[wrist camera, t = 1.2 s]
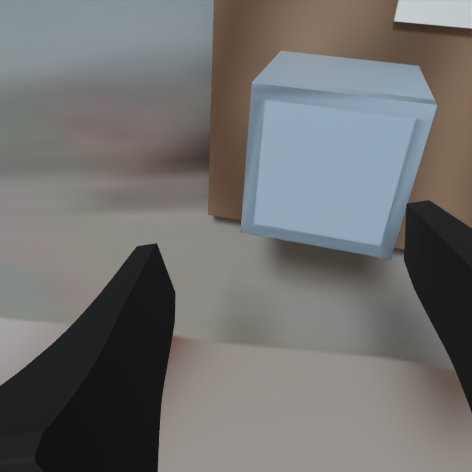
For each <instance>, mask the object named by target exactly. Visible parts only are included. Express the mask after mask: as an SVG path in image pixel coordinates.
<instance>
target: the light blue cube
mask: <svg viewBox="0 0 472 472" xmlns="http://www.w3.org/2000/svg"><path fill="white" fill-rule="evenodd" d="M436 108H437V103H436V101H435V99H434V97H433V95H432V93H431V91H430V89H429V86H428V84H427V82H426V80H425V78H424V76H423V74H422V72H421V70H420V67H419V66H417V65H408V64H398V63H389V62H380V61H371V60H362V59H352V58H343V57H334V56H325V55H315V54H306V53H297V52H288V51H280V52H279V53H278V54H277V56H276V57H275V58H274V59H273V60H272V61H271V62H270V63H269V64H268V65H267V66H266V68H265V69H264V70H263V71H262V72H261V73H260V74H259V75H258V76H257V77H256V78H255V80H254V81H253V82H252V87H251V100H250V113H249V127H248V140H247V153H246V166H245V180H244V193H243V206H242V219H241V232H243V233H248V234H254V235H259V236H265V237H270V238H276V239H281V240H287V241H292V242H298V243H303V244H309V245H314V246H320V247H325V248H331V249H336V250H342V251H347V252H352V253H358V254H363V255H369V256H374V257H380V258H385V259H391V257H392V253H393V250H394V247H395V244H396V240H397V237H398V234H399V230H400V227H401V224H402V220H403V217H404V214H405V210H406V204H407V203H408V201H409V197H410V194H411V191H412V187H413V184H414V181H415V177H416V174H417V171H418V167H419V164H420V161H421V158H422V154H423V151H424V148H425V144H426V141H427V138H428V134H429V131H430V128H431V124H432V121H433V118H434V115H435V111H436Z"/></svg>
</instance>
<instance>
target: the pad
mask: <svg viewBox="0 0 472 472" xmlns="http://www.w3.org/2000/svg"><path fill="white" fill-rule="evenodd" d="M394 21H396V22H407V23H418V24H429V25H439V26H450V27H461V28H472V0H398V3H397V7H396V11H395V16H394Z"/></svg>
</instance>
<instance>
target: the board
mask: <svg viewBox="0 0 472 472" xmlns="http://www.w3.org/2000/svg"><path fill="white" fill-rule="evenodd" d="M397 3H398V0H214V23H213V58H212V94H211V129H210V164H209V200H208V215H213V216H219V217H224V218H230V219H235V220H241V219H242V206H243V193H244V180H245V166H246V153H247V140H248V127H249V113H250V100H251V87H252V82H253V81H254V80H255V78H256V77H257V76H258V75H259V74H260V73H261V72H262V71H263V70H264V69H265V68H266V66H267V65H268V64H269V63H270V62H271V61H272V60H273V59H274V58H275V57H276V56H277V54H278V53H279V52H280V51H288V52H297V53H306V54H315V55H325V56H334V57H343V58H352V59H362V60H371V61H380V62H389V63H398V64H408V65H417V66H419V67H420V70H421V72H422V74H423V76H424V78H425V80H426V82H427V84H428V86H429V89H430V91H431V93H432V95H433V97H434V99H435V101H436V103H437V108H436V111H435V115H434V118H433V121H432V124H431V128H430V131H429V134H428V138H427V141H426V144H425V148H424V151H423V154H422V158H421V161H420V164H419V167H418V171H417V174H416V177H415V181H414V184H413V187H412V191H411V194H410V197H409V201H408V203H413V202H419V201H426V200H430V201H431V202H433V203H434V204H436V205H438V206H439V207H441V208H442V209H443V210H445V211H446V212H448V213H449V214H451V215H452V216H454V217H455V218H457V219H458V220H460V221H461V222H463V223H464V224H466V225H467V226H469V227H471V228H472V28H461V27H450V26H439V25H429V24H418V23H407V22H396V21H394V16H395V11H396V7H397ZM405 222H406V210H405V214H404V217H403V220H402V224H401V227H400V230H399V234H398V237H397V240H396V244H395V247H394V248H399V249H404V247H405Z"/></svg>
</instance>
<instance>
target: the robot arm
mask: <svg viewBox="0 0 472 472" xmlns="http://www.w3.org/2000/svg"><path fill="white" fill-rule="evenodd" d="M404 261H405V264H406V267H407V270H408V273H409V276H410V279H411V281H412V284H413V287H414V289H415V291H416V293H417V295H418V297H419V299H420V301H421V303H422V305H423V307H424V309H425V311H426V313H427V315H428V317H429V319H430V321H431V322H432V324H433V326H434V328H435V330H436V332H437V334H438V336H439V338H440V340H441V341H442V343H443V345H444V347H445V349H446V351H447V353H448V355H449V357H450V359H451V361H452V363H453V366H454V368H455V370H456V373H457V375H458V378H459V380H460V383H461V385H462V388H463V390H464V393H465V396H466V398H467V401H468V403H469V406H470V409H471V412H472V228H471V227H469V226H467V225H466V224H464V223H463V222H461V221H460V220H458V219H457V218H455V217H454V216H452V215H451V214H449V213H448V212H446V211H445V210H443V209H442V208H441V207H439V206H438V205H436V204H434V203H433V202H431V201H430V200H426V201H419V202H413V203H407V204H406V222H405V247H404ZM174 322H175V290H174V288H173V285H172V282H171V280H170V277H169V274H168V272H167V269H166V267H165V264H164V261H163V259H162V256H161V253H160V251H159V248H158V245H157V243H156V244H149V245H143V246H137V247H136V248H135V250H134V251H133V252H132V253H131V255H130V256H129V257H128V259H127V260H126V261H125V262H124V264H123V265H122V266H121V268H120V269H119V270H118V272H117V273H116V274H115V275H114V277H113V278H112V279H111V281H110V282H109V283H108V284H107V286H106V287H105V288H104V289H103V291H102V292H101V293H100V294H99V295H98V297H97V298H96V299H95V300H94V301H93V302H92V303H91V305H90V306H89V307H88V308H87V309H86V310H85V311H84V313H83V314H82V315H81V316H80V317H79V318H78V319H77V320H76V321H75V322H74V323H73V324H72V325H71V326H70V328H68V330H67V331H66V332H65V333H63V334H62V335H61V336H60V337H59V338H58V339H57V340H56V341H55V342H54V343H53V344H52V345H51V346H50V347H48V348H47V349H46V350H45V351H44V352H42V353H41V354H40V355H39V356H38V357H36V358H35V359H34V360H33V361H32V362H30V363H29V364H28V365H27V366H26V367H25V368H23V369H22V370H21V371H20V372H18V373H17V374H16V375H14V376H13V377H12V378H10V379H9V380H8V381H6V382H5V383H4V384H2V385H1V386H0V472H158V448H159V430H160V414H161V402H162V393H163V387H164V381H165V375H166V370H167V364H168V358H169V352H170V347H171V341H172V335H173V329H174Z"/></svg>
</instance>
